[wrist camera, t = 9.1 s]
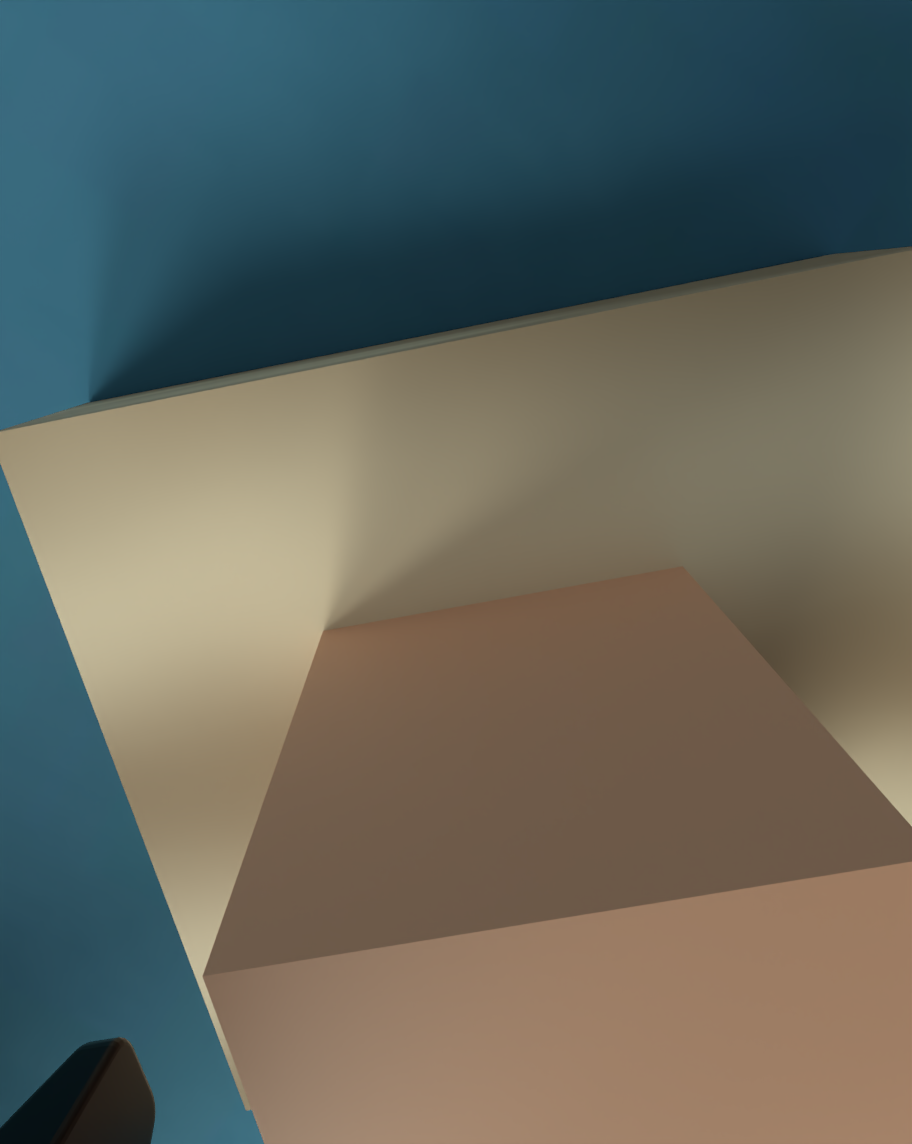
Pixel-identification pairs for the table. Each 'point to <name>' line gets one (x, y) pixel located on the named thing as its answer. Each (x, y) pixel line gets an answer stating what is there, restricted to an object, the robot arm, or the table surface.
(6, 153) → the table surface
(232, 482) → the birch base
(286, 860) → the terracotta block
